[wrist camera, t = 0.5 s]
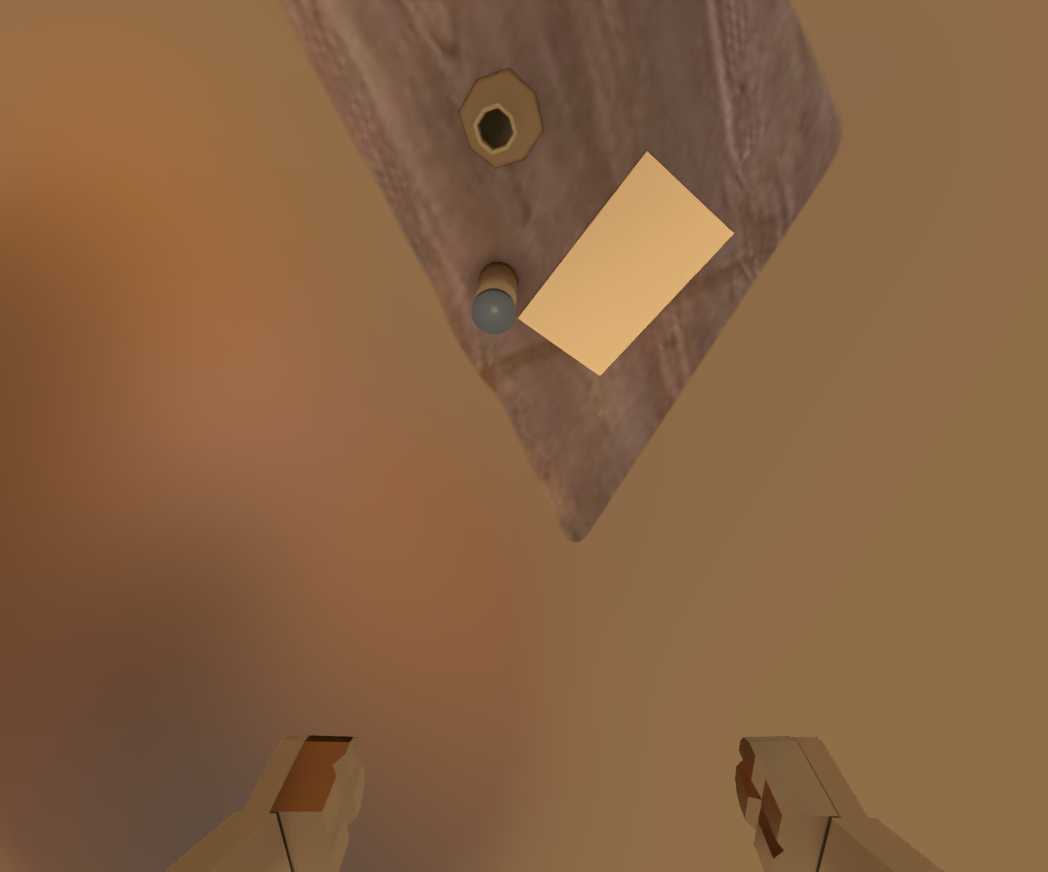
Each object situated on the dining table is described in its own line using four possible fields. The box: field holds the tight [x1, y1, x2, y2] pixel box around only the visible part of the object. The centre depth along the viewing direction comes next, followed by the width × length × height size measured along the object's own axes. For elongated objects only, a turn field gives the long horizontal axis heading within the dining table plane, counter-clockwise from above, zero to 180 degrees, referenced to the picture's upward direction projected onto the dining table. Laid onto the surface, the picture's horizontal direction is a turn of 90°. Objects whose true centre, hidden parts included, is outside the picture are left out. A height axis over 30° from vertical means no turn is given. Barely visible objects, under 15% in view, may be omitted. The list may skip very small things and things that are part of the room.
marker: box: [472, 262, 517, 334], centre depth 49 cm, size 4×4×9 cm
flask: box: [459, 68, 544, 169], centre depth 40 cm, size 7×7×10 cm
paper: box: [518, 151, 734, 376], centre depth 52 cm, size 20×12×1 cm, turn 143°
